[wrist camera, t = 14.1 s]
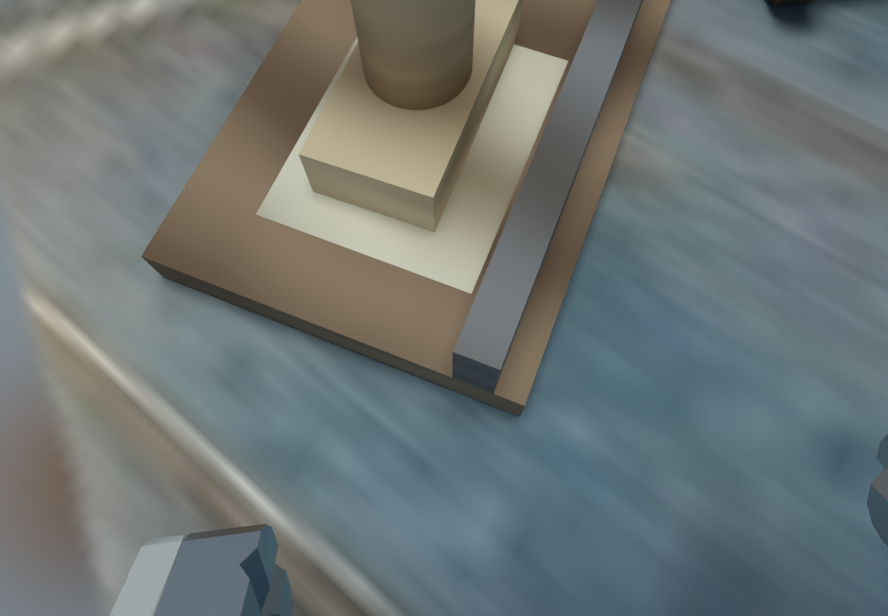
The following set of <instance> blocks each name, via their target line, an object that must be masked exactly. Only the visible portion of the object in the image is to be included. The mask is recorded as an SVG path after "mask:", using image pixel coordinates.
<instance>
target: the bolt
mask: <svg viewBox="0 0 888 616" xmlns="http://www.w3.org/2000/svg"><path fill="white" fill-rule="evenodd" d="M768 1H769V2H770V3H771V4H772V5H773V6H774V7H776V6H801V5H806V4H808V3H810V2H812V1H814V0H768Z"/></svg>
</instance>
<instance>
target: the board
mask: <svg viewBox="0 0 888 616" xmlns="http://www.w3.org/2000/svg"><path fill="white" fill-rule="evenodd" d="M670 2H671V0H523V3H522V10H521V18H520V25H519V33H518V36H517V39H516V41H515V43H514V46H513V48H512V51H511V53H510V55H509V58H508V60H507V62H506V65H505V67H504V69H503V72H502V74H501V77H500V79H499V81H498V84H497V86H496V88H495V91H494V93H493V96H492V98H491V100H490V103H489V105H488V107H487V110H486V112H485V115H484V117H483V119H482V122H481V124H480V126H479V129H478V131H477V133H476V136H475V138H474V141H473V143H472V145H471V148H470V150H469V152H468V155H467V157H466V160H465V162H464V164H463V167H462V169H461V171H460V174H459V176H458V179H457V181H456V183H455V186H454V188H453V190H452V193H451V195H450V197H449V200H448V202H447V205H446V207H445V209H444V212H443V214H442V216H441V219H440V221H439V224H438V226H437V228H436V231H435V232H433V231H430V230H427V229H424V228H421V227H418V226H415V225H412V224H409V223H406V222H403V221H400V220H397V219H394V218H391V217H388V216H385V215H382V214H379V213H376V212H373V211H369V210H366V209H363V208H360V207H357V206H354V205H351V204H348V203H345V202H342V201H339V200H336V199H333V198H330V197H327V196H324V195H321V194H318V193H315V192H313V190H312V188H311V185H310V183H309V180H308V178H307V175H306V172H305V170H304V167H303V165H302V162H301V160H300V157H299V152H300V150H301V148H302V146H303V145H304V143H305V141H306V139H307V137H308V135H309V133H310V131H311V129H312V128H313V126H314V124H315V122H316V120H317V118H318V116H319V114H320V113H321V111H322V109H323V107H324V105H325V103H326V101H327V99H328V97H329V96H330V94H331V92H332V90H333V88H334V86H335V84H336V82H337V81H338V79H339V77H340V75H341V73H342V71H343V69H344V67H345V65H346V64H347V62H348V60H349V58H350V56H351V54H352V52H353V50H354V49H355V47H356V45H357V43H358V38H357V32H356V27H355V22H354V16H353V11H352V5H351V0H301V2H300V4H299V5H298V7H297V8H296V10H295V12H294V13H293V15H292V16H291V18H290V20H289V21H288V23H287V24H286V26H285V28H284V29H283V31H282V32H281V34H280V36H279V37H278V39H277V40H276V42H275V44H274V45H273V47H272V48H271V50H270V51H269V53H268V55H267V56H266V58H265V59H264V61H263V63H262V64H261V66H260V67H259V69H258V71H257V72H256V74H255V75H254V77H253V79H252V80H251V82H250V83H249V85H248V87H247V88H246V90H245V91H244V93H243V95H242V96H241V98H240V99H239V101H238V103H237V104H236V106H235V107H234V109H233V111H232V112H231V114H230V115H229V117H228V119H227V120H226V122H225V123H224V125H223V127H222V128H221V130H220V131H219V133H218V135H217V136H216V138H215V139H214V141H213V143H212V144H211V146H210V147H209V149H208V151H207V152H206V154H205V155H204V157H203V159H202V160H201V162H200V163H199V165H198V167H197V168H196V170H195V171H194V173H193V175H192V176H191V178H190V179H189V181H188V183H187V184H186V186H185V187H184V189H183V191H182V192H181V194H180V195H179V197H178V199H177V200H176V202H175V203H174V205H173V207H172V208H171V210H170V211H169V213H168V214H167V216H166V218H165V219H164V221H163V222H162V224H161V226H160V227H159V229H158V230H157V232H156V234H155V235H154V237H153V238H152V240H151V242H150V243H149V245H148V246H147V248H146V250H145V251H144V253H143V254H142V256H141V257H142V258H143V259H145V260H146V261H147V262H148V263H149V264H150V265H151V266H152V267H153V268H154V269H155V270H156V271H157V272H159V273H160V274H161V275H162V276H163V277H165V278H168V279H170V280H173V281H175V282H178V283H181V284H183V285H186V286H188V287H191V288H193V289H196V290H198V291H201V292H203V293H206V294H209V295H211V296H214V297H216V298H219V299H221V300H224V301H226V302H229V303H231V304H234V305H237V306H239V307H242V308H244V309H247V310H249V311H252V312H254V313H257V314H259V315H262V316H265V317H267V318H270V319H272V320H275V321H277V322H280V323H282V324H285V325H288V326H290V327H293V328H295V329H298V330H300V331H303V332H305V333H308V334H310V335H313V336H316V337H318V338H321V339H323V340H326V341H328V342H331V343H333V344H336V345H338V346H341V347H344V348H346V349H349V350H351V351H354V352H356V353H359V354H361V355H364V356H366V357H369V358H372V359H374V360H377V361H379V362H382V363H384V364H387V365H389V366H392V367H394V368H397V369H400V370H402V371H405V372H407V373H410V374H412V375H415V376H417V377H420V378H422V379H425V380H428V381H430V382H433V383H435V384H438V385H440V386H443V387H445V388H448V389H450V390H453V391H456V392H458V393H461V394H463V395H466V396H468V397H471V398H473V399H476V400H478V401H481V402H484V403H486V404H489V405H491V406H494V407H496V408H499V409H501V410H504V411H506V412H509V413H512V414H514V415H517V416H520V414H521V412H522V410H523V408H524V406H525V404H526V401H527V398H528V396H529V393H530V390H531V387H532V385H533V382H534V379H535V376H536V373H537V371H538V368H539V365H540V362H541V360H542V357H543V354H544V351H545V349H546V346H547V343H548V340H549V337H550V335H551V332H552V329H553V326H554V324H555V321H556V318H557V315H558V312H559V310H560V307H561V304H562V301H563V299H564V296H565V293H566V290H567V288H568V285H569V282H570V279H571V276H572V274H573V271H574V268H575V265H576V263H577V260H578V257H579V254H580V252H581V249H582V246H583V243H584V240H585V238H586V235H587V232H588V229H589V227H590V224H591V221H592V218H593V216H594V213H595V210H596V207H597V204H598V202H599V199H600V196H601V193H602V191H603V188H604V185H605V182H606V180H607V177H608V174H609V171H610V168H611V166H612V163H613V160H614V157H615V155H616V152H617V149H618V146H619V143H620V141H621V138H622V135H623V132H624V130H625V127H626V124H627V121H628V119H629V116H630V113H631V110H632V107H633V105H634V102H635V99H636V96H637V94H638V91H639V88H640V85H641V83H642V80H643V77H644V74H645V71H646V69H647V66H648V63H649V60H650V58H651V55H652V52H653V49H654V47H655V44H656V41H657V38H658V35H659V33H660V30H661V27H662V24H663V22H664V19H665V16H666V13H667V11H668V8H669V5H670Z"/></svg>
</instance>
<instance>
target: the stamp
mask: <svg viewBox="0 0 888 616" xmlns="http://www.w3.org/2000/svg"><path fill="white" fill-rule="evenodd" d="M522 3H523V0H351V5H352V11H353V16H354V22H355V27H356V32H357V38H358V43H357V45H356V47H355V49H354V50H353V52H352V54H351V56H350V58H349V60H348V62H347V64H346V65H345V67H344V69H343V71H342V73H341V75H340V77H339V79H338V81H337V82H336V84H335V86H334V88H333V90H332V92H331V94H330V96H329V97H328V99H327V101H326V103H325V105H324V107H323V109H322V111H321V113H320V114H319V116H318V118H317V120H316V122H315V124H314V126H313V128H312V129H311V131H310V133H309V135H308V137H307V139H306V141H305V143H304V145H303V146H302V148H301V150H300V152H299V157H300V160H301V162H302V165H303V167H304V170H305V172H306V175H307V178H308V180H309V183H310V185H311V188H312V190H313V192H315V193H318V194H321V195H324V196H327V197H330V198H333V199H336V200H339V201H342V202H345V203H348V204H351V205H354V206H357V207H360V208H363V209H366V210H369V211H373V212H376V213H379V214H382V215H385V216H388V217H391V218H394V219H397V220H400V221H403V222H406V223H409V224H412V225H415V226H418V227H421V228H424V229H427V230H430V231H433V232H435V231H436V228H437V226H438V224H439V221H440V219H441V216H442V214H443V212H444V209H445V207H446V205H447V202H448V200H449V197H450V195H451V193H452V190H453V188H454V186H455V183H456V181H457V179H458V176H459V174H460V171H461V169H462V167H463V164H464V162H465V160H466V157H467V155H468V152H469V150H470V148H471V145H472V143H473V141H474V138H475V136H476V133H477V131H478V129H479V126H480V124H481V122H482V119H483V117H484V115H485V112H486V110H487V107H488V105H489V103H490V100H491V98H492V96H493V93H494V91H495V88H496V86H497V84H498V81H499V79H500V77H501V74H502V72H503V69H504V67H505V65H506V62H507V60H508V58H509V55H510V53H511V51H512V48H513V46H514V43H515V41H516V39H517V36H518V33H519V25H520V18H521V10H522Z"/></svg>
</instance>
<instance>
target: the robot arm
mask: <svg viewBox="0 0 888 616" xmlns="http://www.w3.org/2000/svg"><path fill="white" fill-rule="evenodd" d="M877 459H878V460H879V462H880V463H881V464H882V466H883V467H884V470H883V471H882V472H881V473H880V474H879V475H878V476H877V477H876V478H875V480H874V481H873V482H872V483H871V484H870V489H869V495H868V501H867V505H868V509H869V513H870V517H871V521H872V524H873V526H874V528H875V529H876V531H877V533H878V534H879V536H880V538H881V539H882V541H883V542H884V543H885V544H886V545H887V546H888V434H887V435H886V436H885V437H884V438H883V440H882V441H881V442H880V446H879V450H878V454H877ZM277 550H278V544H277V541H276V538H275V535H274V532H273V529H272V527H271V526H269V525H267V524H263V525H255V526H246V527H238V528H230V529H222V530H214V531H206V532H198V533H190V534H189V535H180V536H172V537H164V538H155V539H150V540H149V541H148V542H146V543H145V544H144V545H143V546H142V547H141V548H140V550H139V552H138V554H137V556H136V559H135V561H134V563H133V565H132V567H131V569H130V572H129V574H128V576H127V578H126V580H125V582H124V585H123V587H122V589H121V591H120V593H119V595H118V597H117V600H116V602H115V604H114V606H113V608H112V610H111V613H110V615H109V616H292V596H291V590H290V584H289V581H288V577H287V574H286V571H285V570H283V569H282V568H280V567H279V566H278V565H276V564H275V560H276V555H277Z"/></svg>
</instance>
